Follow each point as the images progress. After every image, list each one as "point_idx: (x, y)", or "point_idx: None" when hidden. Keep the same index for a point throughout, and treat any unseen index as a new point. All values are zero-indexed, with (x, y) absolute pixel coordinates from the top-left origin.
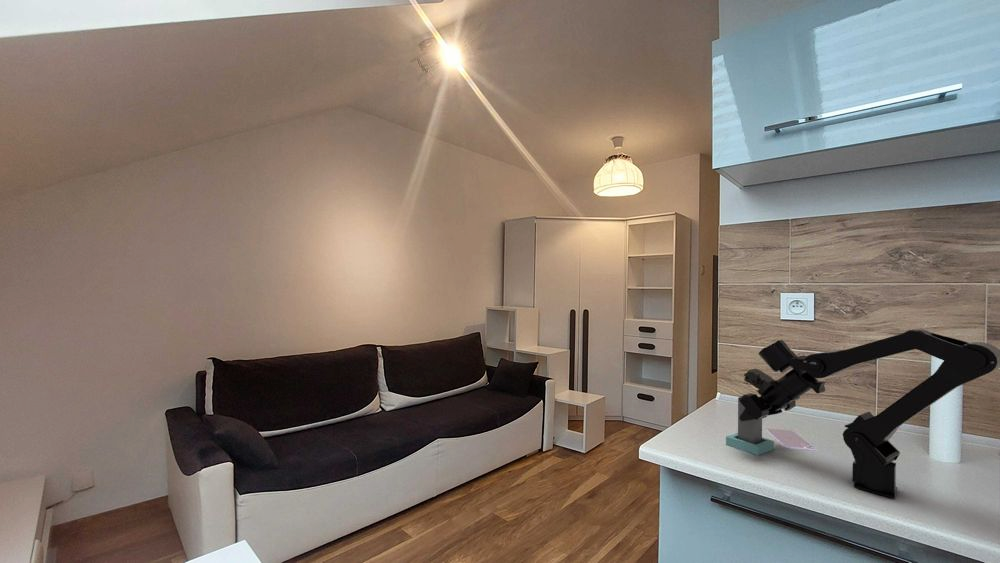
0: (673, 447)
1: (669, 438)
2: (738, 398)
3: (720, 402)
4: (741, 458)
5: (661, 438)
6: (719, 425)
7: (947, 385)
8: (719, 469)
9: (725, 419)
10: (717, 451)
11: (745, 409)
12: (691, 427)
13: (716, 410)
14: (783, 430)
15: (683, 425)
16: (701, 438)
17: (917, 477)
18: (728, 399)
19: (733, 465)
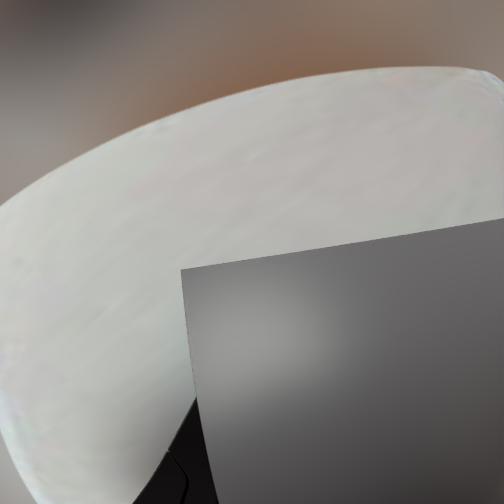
0: (12, 250)
1: (63, 183)
2: (195, 287)
3: (476, 74)
4: (123, 441)
5: (47, 178)
6: (374, 144)
7: None
8: (3, 431)
9: (432, 125)
10: (93, 349)
11: (157, 480)
12: (240, 121)
13: (444, 84)
14: None
15: (228, 102)
16: (161, 215)
17: None
18: (497, 79)
19: (51, 449)
